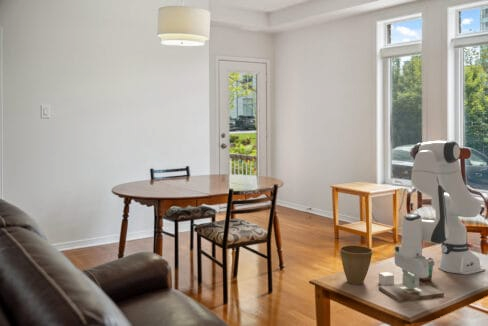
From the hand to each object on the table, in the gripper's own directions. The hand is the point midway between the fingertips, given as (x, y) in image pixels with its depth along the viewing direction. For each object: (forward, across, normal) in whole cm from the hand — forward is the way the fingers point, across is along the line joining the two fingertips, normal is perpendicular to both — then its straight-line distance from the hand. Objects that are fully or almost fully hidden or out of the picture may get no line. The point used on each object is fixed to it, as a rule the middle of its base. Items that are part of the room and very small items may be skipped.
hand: (410, 281), depth 210 cm
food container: (+5, +11, -16) cm, 20 cm away
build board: (+5, 0, 0) cm, 5 cm away
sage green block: (+2, 0, 0) cm, 2 cm away
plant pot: (+5, +20, +16) cm, 26 cm away
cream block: (+5, +13, +4) cm, 14 cm away
